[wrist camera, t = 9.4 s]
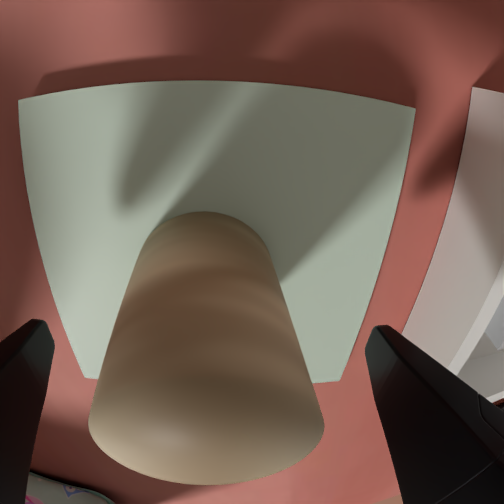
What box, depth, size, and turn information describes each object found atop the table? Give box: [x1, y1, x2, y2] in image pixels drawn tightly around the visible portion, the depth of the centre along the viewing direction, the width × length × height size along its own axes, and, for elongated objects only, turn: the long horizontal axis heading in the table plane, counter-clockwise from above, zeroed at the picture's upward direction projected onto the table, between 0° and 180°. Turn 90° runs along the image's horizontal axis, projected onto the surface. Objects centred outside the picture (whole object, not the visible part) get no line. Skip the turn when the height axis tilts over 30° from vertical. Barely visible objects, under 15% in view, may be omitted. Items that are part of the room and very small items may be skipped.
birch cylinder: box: [88, 211, 324, 485], centre depth 8 cm, size 4×4×6 cm
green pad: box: [18, 80, 416, 383], centre depth 11 cm, size 12×12×1 cm
